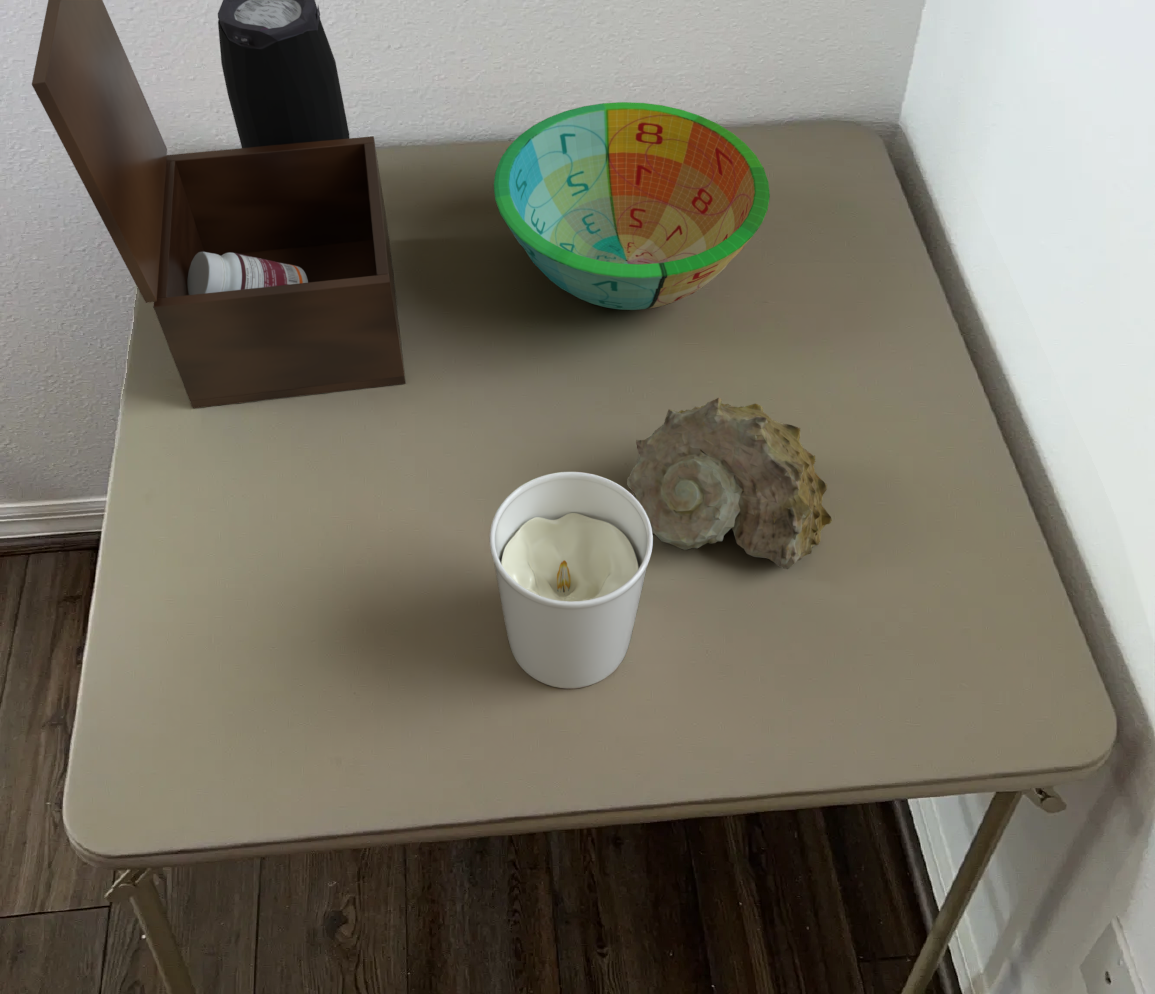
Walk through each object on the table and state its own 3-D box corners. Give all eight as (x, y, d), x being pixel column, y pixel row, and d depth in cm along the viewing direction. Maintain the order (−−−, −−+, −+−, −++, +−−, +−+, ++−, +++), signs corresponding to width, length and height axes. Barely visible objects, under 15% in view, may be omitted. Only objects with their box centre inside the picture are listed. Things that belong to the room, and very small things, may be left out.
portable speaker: (262, 177, 107) (212, -24, 91) (362, 173, 107) (329, -27, 92) (253, 237, 101) (199, 34, 86) (359, 232, 102) (323, 30, 86)
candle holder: (485, 590, 79) (475, 486, 70) (619, 563, 81) (628, 458, 71) (513, 714, 74) (507, 619, 64) (658, 683, 75) (673, 586, 66)
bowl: (498, 195, 106) (494, 101, 98) (736, 192, 106) (751, 98, 98) (498, 370, 92) (492, 277, 84) (770, 365, 93) (789, 272, 85)
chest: (389, 239, 102) (373, 135, 93) (405, 383, 91) (389, 282, 82) (198, 259, 100) (164, 155, 91) (192, 408, 89) (153, 307, 80)
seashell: (631, 464, 88) (623, 378, 80) (820, 459, 87) (832, 371, 79) (629, 586, 82) (621, 506, 73) (834, 583, 80) (849, 501, 72)
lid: (73, -68, 76) (61, -67, 76) (44, 82, 66) (31, 84, 66) (167, 149, 91) (157, 151, 91) (156, 301, 80) (145, 303, 80)
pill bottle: (280, 325, 95) (182, 309, 89) (284, 268, 95) (187, 249, 89) (307, 323, 91) (207, 306, 86) (312, 264, 91) (213, 244, 85)
